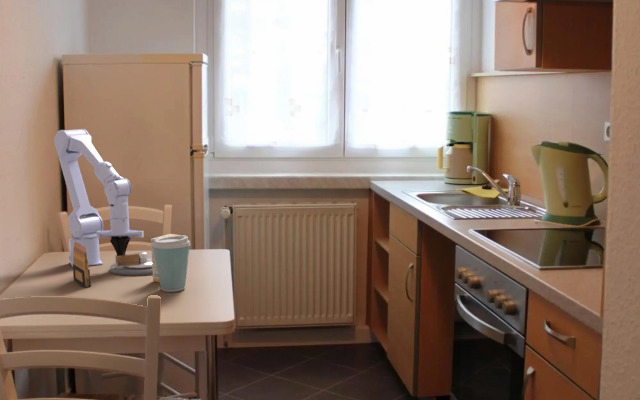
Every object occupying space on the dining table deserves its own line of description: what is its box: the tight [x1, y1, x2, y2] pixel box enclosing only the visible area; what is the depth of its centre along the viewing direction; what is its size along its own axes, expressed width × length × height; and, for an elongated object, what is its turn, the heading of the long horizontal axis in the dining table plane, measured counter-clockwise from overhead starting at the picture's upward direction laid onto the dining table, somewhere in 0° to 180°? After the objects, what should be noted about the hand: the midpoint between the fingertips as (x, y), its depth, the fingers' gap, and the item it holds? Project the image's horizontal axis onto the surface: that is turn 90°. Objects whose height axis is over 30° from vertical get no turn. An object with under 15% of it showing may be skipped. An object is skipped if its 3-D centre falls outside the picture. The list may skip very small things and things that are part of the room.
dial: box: [115, 251, 152, 269], centre depth 243 cm, size 14×12×4 cm
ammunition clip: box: [72, 241, 92, 289], centre depth 225 cm, size 11×2×12 cm, turn 34°
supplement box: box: [150, 233, 179, 283], centre depth 229 cm, size 8×5×13 cm, turn 149°
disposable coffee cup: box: [152, 234, 191, 293], centre depth 217 cm, size 11×11×15 cm
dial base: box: [109, 262, 153, 277], centre depth 245 cm, size 20×20×1 cm
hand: (121, 259), depth 243 cm, fingers closed
